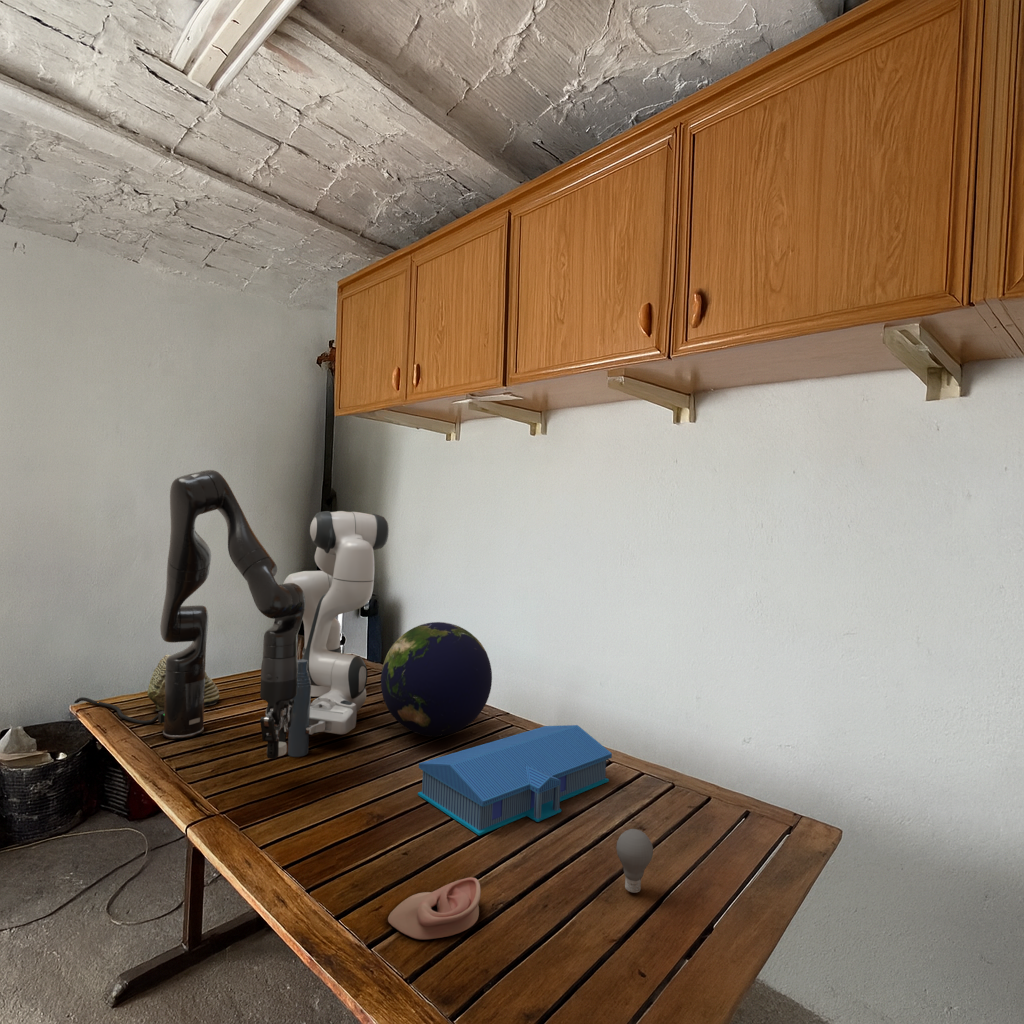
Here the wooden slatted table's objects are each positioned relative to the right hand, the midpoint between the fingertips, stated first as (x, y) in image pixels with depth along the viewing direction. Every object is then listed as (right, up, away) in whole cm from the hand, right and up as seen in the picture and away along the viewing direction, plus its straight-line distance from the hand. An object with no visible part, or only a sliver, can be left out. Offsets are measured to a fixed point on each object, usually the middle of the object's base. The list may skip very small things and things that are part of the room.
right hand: (297, 729), depth 155 cm
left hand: (+1, 0, -16) cm, 16 cm away
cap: (+1, +2, -16) cm, 17 cm away
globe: (+31, -7, +18) cm, 37 cm away
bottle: (0, -6, +1) cm, 6 cm away
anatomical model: (+41, -9, -58) cm, 71 cm away
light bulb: (+73, -10, -49) cm, 88 cm away
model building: (+55, -9, -14) cm, 57 cm away
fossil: (-43, -4, +30) cm, 53 cm away
